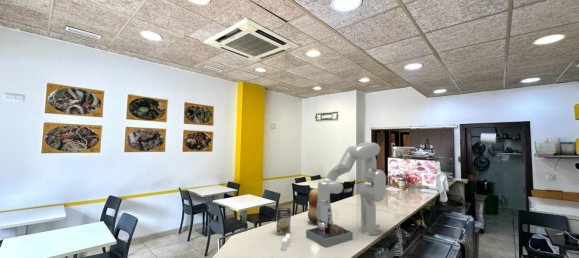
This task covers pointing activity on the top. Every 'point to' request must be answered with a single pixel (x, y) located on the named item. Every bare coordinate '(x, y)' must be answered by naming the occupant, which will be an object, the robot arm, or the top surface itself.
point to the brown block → (336, 230)
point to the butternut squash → (313, 205)
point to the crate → (328, 237)
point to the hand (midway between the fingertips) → (323, 231)
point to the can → (322, 228)
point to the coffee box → (283, 221)
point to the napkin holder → (286, 242)
